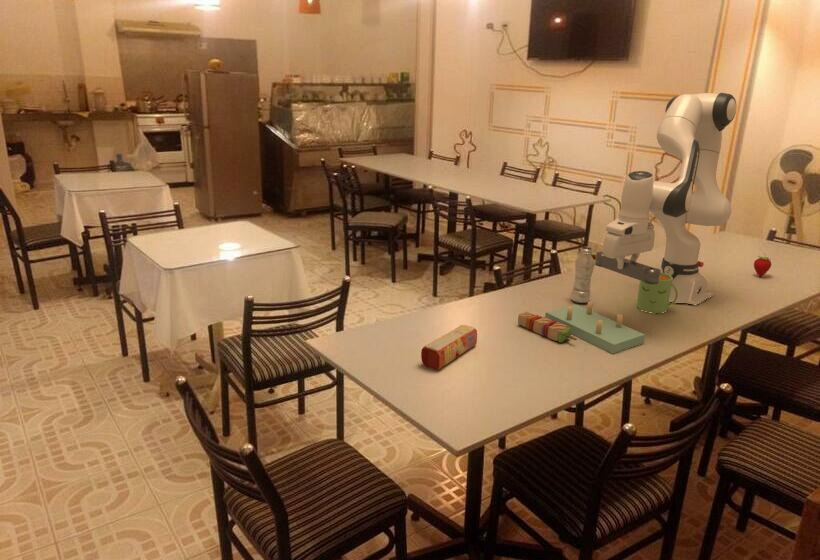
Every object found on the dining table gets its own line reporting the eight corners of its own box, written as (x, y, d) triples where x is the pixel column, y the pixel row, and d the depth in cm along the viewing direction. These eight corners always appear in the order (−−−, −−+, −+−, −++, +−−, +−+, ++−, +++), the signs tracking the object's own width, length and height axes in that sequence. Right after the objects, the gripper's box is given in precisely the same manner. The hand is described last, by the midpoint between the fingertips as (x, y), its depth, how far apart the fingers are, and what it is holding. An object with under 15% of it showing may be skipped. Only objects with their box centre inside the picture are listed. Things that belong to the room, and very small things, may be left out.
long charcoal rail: (601, 262, 203) (602, 250, 202) (661, 282, 185) (663, 270, 183) (592, 264, 201) (593, 252, 200) (652, 285, 182) (654, 272, 181)
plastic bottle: (573, 297, 221) (579, 244, 214) (591, 301, 218) (598, 247, 211) (567, 302, 216) (574, 248, 209) (586, 306, 212) (593, 252, 206)
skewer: (514, 327, 195) (516, 312, 194) (527, 322, 199) (528, 308, 198) (568, 349, 181) (570, 334, 179) (581, 343, 185) (583, 328, 183)
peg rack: (574, 312, 207) (577, 293, 205) (643, 343, 185) (647, 322, 183) (544, 320, 200) (546, 300, 198) (612, 353, 178) (615, 332, 176)
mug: (633, 310, 210) (639, 278, 206) (638, 301, 219) (643, 269, 215) (673, 318, 204) (679, 284, 200) (676, 307, 213) (682, 275, 209)
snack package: (460, 340, 185) (461, 320, 183) (478, 346, 181) (480, 326, 179) (419, 366, 169) (420, 344, 166) (439, 373, 165) (440, 351, 163)
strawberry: (747, 276, 247) (752, 252, 244) (756, 273, 251) (762, 250, 248) (762, 280, 243) (768, 256, 239) (771, 277, 247) (777, 253, 243)
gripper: (645, 219, 195) (639, 260, 200) (602, 226, 185) (596, 269, 190) (662, 223, 190) (655, 265, 195) (619, 230, 180) (612, 275, 185)
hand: (626, 267), depth 192 cm, fingers closed on long charcoal rail, 3 cm apart
